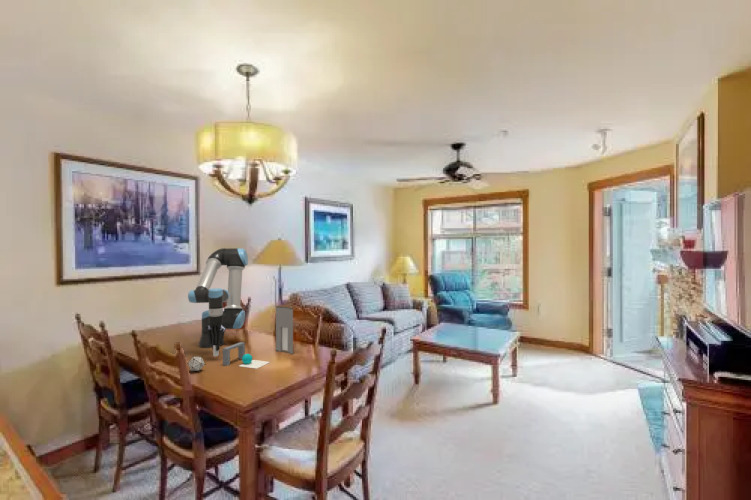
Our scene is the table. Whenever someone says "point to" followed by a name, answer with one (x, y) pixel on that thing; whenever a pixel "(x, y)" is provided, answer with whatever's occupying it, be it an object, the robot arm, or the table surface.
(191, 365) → the game die
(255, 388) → the table surface
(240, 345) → the bridge
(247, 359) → the ball
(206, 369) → the table surface
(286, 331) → the cabinet
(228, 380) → the table surface
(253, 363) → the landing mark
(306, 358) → the table surface
